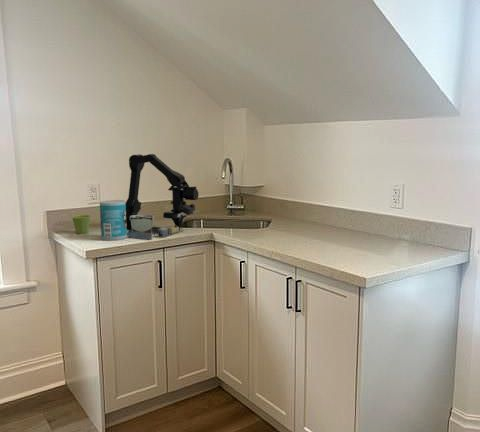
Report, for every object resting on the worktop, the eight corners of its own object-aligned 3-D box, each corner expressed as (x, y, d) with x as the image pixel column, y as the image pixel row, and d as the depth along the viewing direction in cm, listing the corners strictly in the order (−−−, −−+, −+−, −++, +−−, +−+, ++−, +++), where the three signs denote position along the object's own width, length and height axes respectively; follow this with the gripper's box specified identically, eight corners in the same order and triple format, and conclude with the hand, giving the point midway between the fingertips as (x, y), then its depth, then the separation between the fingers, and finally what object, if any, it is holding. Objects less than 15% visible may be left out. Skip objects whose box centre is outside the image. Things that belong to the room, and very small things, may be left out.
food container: (157, 233, 245) (156, 214, 244) (154, 236, 239) (153, 216, 238) (133, 233, 246) (133, 214, 245) (129, 236, 240) (129, 216, 239)
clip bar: (169, 234, 244) (169, 226, 243) (176, 232, 249) (176, 224, 248) (172, 234, 243) (171, 227, 242) (179, 232, 248) (178, 225, 248)
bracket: (125, 237, 238) (125, 231, 238) (146, 231, 252) (146, 225, 252) (150, 239, 231) (149, 233, 230) (170, 233, 245) (170, 227, 245)
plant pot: (77, 235, 243) (76, 218, 241) (69, 233, 250) (68, 216, 248) (94, 233, 249) (93, 216, 247) (87, 230, 256) (86, 214, 254)
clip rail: (157, 237, 236) (157, 229, 236) (178, 231, 252) (178, 223, 251) (162, 238, 235) (162, 229, 234) (183, 231, 250) (182, 224, 250)
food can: (132, 237, 236) (130, 201, 233) (111, 242, 227) (109, 203, 224) (117, 234, 244) (115, 199, 241) (96, 238, 234) (94, 201, 232)
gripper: (180, 202, 235) (181, 234, 238) (201, 198, 251) (202, 227, 254) (162, 201, 240) (163, 232, 243) (183, 197, 257) (184, 226, 259)
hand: (178, 229), depth 249 cm, fingers closed
